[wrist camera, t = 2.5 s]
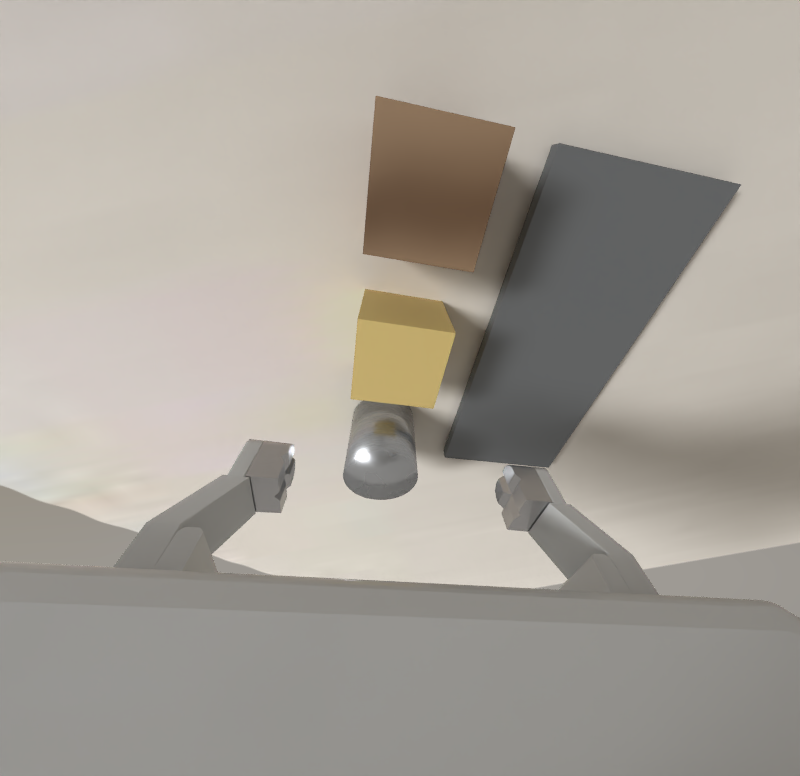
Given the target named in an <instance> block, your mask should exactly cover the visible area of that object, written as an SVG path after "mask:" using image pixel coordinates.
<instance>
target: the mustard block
mask: <svg viewBox="0 0 800 776" xmlns="http://www.w3.org/2000/svg"><path fill="white" fill-rule="evenodd" d="M455 334H456V333H455V330H454V328H453V326H452V323H451V321H450V319H449V316H448V314H447V312H446V309H445V307H444V305H443V302H442V301H436V300H430V299H423V298H417V297H411V296H405V295H399V294H392V293H386V292H380V291H374V290H368V289H365V292H364V296H363V300H362V304H361V308H360V312H359V316H358V322H357V333H356V345H355V356H354V367H353V379H352V390H351V399H355V400H363V401H372V402H381V403H389V404H398V405H406V406H415V407H423V408H432V409H433V408H434V405H435V402H436V398H437V395H438V392H439V388H440V385H441V382H442V378H443V375H444V371H445V368H446V365H447V361H448V358H449V355H450V351H451V348H452V344H453V341H454V338H455Z"/></svg>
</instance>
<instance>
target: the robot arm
mask: <svg viewBox="0 0 800 776" xmlns="http://www.w3.org/2000/svg"><path fill="white" fill-rule="evenodd" d="M293 454H294V445H293V444H288V443H280V442H272V441H262V440H254V439H250V440H249V441H247V442H246V444H245V446H244V447H243V449H242V451H241V453H240V454H239V456H238V458H237V459H236V461H235V463H234V464H233V466H232V468H231V470H230V471H229V473H228V475H222V476H220V477H218V478H217V479H215V480H214V481H212V482H210V483H209V484H207V485H206V486H204V487H202V488H201V489H199V490H198V491H196V492H194V493H193V494H191V495H190V496H188V497H186V498H185V499H183V500H182V501H180V502H179V503H177V504H175V505H174V506H172V507H171V508H169V509H167V510H166V511H164V512H163V513H161V514H159V515H158V516H156V517H155V518H153V519H151V520H150V521H148V522H147V523H146V524H145V525H144V527H143V528H142V529H141V531H140V532H139V533H138V535H137V536H136V537H135V539H134V540H133V541H132V543H131V544H130V545H129V547H128V548H127V549H126V551H125V552H124V553H123V555H122V556H121V557H120V559H119V560H118V561H117V563H116V564H115V565H114V567H100V566H80V565H79V566H78V565H61V564H42V563H23V562H22V563H21V562H2V561H0V776H800V618H799V617H797V616H795V615H794V614H792V613H791V612H789V611H787V610H786V609H784V608H783V607H781V606H779V605H777V604H775V603H772V602H768V601H763V600H749V599H729V598H710V597H709V598H708V597H690V596H670V595H659V594H658V592H657V591H656V589H655V588H654V586H653V585H652V583H651V582H650V580H649V579H648V577H647V576H646V574H645V573H644V571H643V570H642V568H641V567H640V565H639V564H638V562H637V561H636V559H635V558H634V556H633V555H632V554H631V553H629V552H628V551H627V550H626V549H625V548H623V547H622V546H621V545H620V544H618V543H617V542H616V541H615V540H613V539H612V538H611V537H610V536H609V535H607V534H606V533H605V532H604V531H602V530H601V529H600V528H599V527H597V526H596V525H595V524H594V523H593V522H591V521H590V520H589V519H588V518H586V517H585V516H584V515H583V514H581V513H580V512H579V511H578V510H577V509H575V508H574V507H573V506H572V505H570V504H566V502H565V500H564V499H563V497H562V495H561V493H560V491H559V490H558V488H557V486H556V484H555V483H554V481H553V479H552V477H551V476H550V474H549V472H548V471H547V470H546V469H545V468H537V467H526V466H515V465H507V466H506V467H505V468H504V470H503V474H504V476H502V477H501V478H499V479H498V481H497V483H496V489H495V493H496V498H497V501H498V503H499V504H500V505H501V506H502V507H503V511H502V516H503V519H504V522H505V525H506V528H507V529H508V530H517V531H527V532H528V533H529V534H530V536H531V537H532V538H533V539H534V540H535V541H536V543H537V544H538V545H539V546H540V547H541V548H542V550H543V551H544V552H545V553H546V554H547V555H548V557H549V558H550V559H551V560H552V561H553V562H554V564H555V565H556V566H557V567H558V568H559V570H560V571H561V572H562V573H563V574H564V575H565V577H566V578H567V579H568V580H567V581H566V582H565V583H564V584H563V585H562V586H561V587H560V588H559V590H551V589H531V588H512V587H493V586H473V585H454V584H434V583H415V582H395V581H375V580H355V579H335V578H315V577H296V576H276V575H255V574H235V573H218V571H217V569H216V566H215V563H214V560H213V558H212V555H211V554H212V553H213V552H215V551H216V550H217V549H218V548H219V547H220V546H221V545H222V544H223V543H224V542H225V541H226V540H227V539H228V538H230V537H231V536H232V535H233V534H234V533H235V532H236V531H237V530H238V529H239V528H240V527H241V526H242V525H243V524H245V523H246V522H247V521H248V520H249V519H250V518H251V517H252V516H253V515H254V514H255V512H273V513H281V512H282V509H283V506H284V503H285V500H286V497H287V490H286V489H287V488H288V487H289V486H291V483H292V480H293V476H294V471H295V460H294V458H293Z"/></svg>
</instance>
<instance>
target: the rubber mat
mask: <svg viewBox="0 0 800 776" xmlns="http://www.w3.org/2000/svg"><path fill="white" fill-rule="evenodd" d="M740 186H741V184H737V183H732V182H728V181H723V180H719V179H715V178H710V177H706V176H701V175H697V174H693V173H688V172H684V171H679V170H675V169H671V168H666V167H662V166H657V165H653V164H649V163H644V162H640V161H635V160H631V159H627V158H622V157H618V156H613V155H609V154H605V153H600V152H596V151H591V150H587V149H583V148H578V147H574V146H569V145H565V144H561V143H559V144H555V145H552V147H551V150H550V152H549V155H548V158H547V161H546V164H545V167H544V169H543V172H542V175H541V178H540V181H539V183H538V186H537V189H536V192H535V195H534V198H533V200H532V203H531V206H530V209H529V212H528V214H527V217H526V220H525V223H524V226H523V229H522V231H521V234H520V237H519V240H518V243H517V245H516V248H515V251H514V254H513V257H512V260H511V262H510V265H509V268H508V271H507V274H506V276H505V279H504V282H503V285H502V288H501V291H500V293H499V296H498V299H497V302H496V305H495V307H494V310H493V313H492V316H491V319H490V322H489V324H488V327H487V330H486V333H485V336H484V338H483V341H482V344H481V347H480V350H479V353H478V355H477V358H476V361H475V364H474V367H473V369H472V372H471V375H470V378H469V381H468V384H467V386H466V389H465V392H464V395H463V398H462V400H461V403H460V406H459V409H458V412H457V415H456V417H455V420H454V423H453V426H452V429H451V431H450V434H449V437H448V440H447V443H446V446H445V448H444V455H445V457H446V458H457V459H467V460H477V461H487V462H498V463H508V464H518V465H528V466H539V467H549V466H550V465H551V463H552V462H553V460H554V459H555V458H556V456H557V455H558V453H559V452H560V450H561V449H562V447H563V446H564V444H565V443H566V441H567V440H568V438H569V437H570V435H571V434H572V433H573V431H574V430H575V428H576V427H577V425H578V424H579V422H580V421H581V419H582V418H583V416H584V415H585V413H586V412H587V410H588V409H589V408H590V406H591V405H592V403H593V402H594V400H595V399H596V397H597V396H598V394H599V393H600V391H601V390H602V388H603V387H604V386H605V384H606V383H607V381H608V380H609V378H610V377H611V375H612V374H613V372H614V371H615V369H616V368H617V366H618V365H619V363H620V362H621V361H622V359H623V358H624V356H625V355H626V353H627V352H628V350H629V349H630V347H631V346H632V344H633V343H634V341H635V340H636V338H637V337H638V336H639V334H640V333H641V331H642V330H643V328H644V327H645V325H646V324H647V322H648V321H649V319H650V318H651V316H652V315H653V313H654V312H655V311H656V309H657V308H658V306H659V305H660V303H661V302H662V300H663V299H664V297H665V296H666V294H667V293H668V291H669V290H670V288H671V287H672V286H673V284H674V283H675V281H676V280H677V278H678V277H679V275H680V274H681V272H682V271H683V269H684V268H685V266H686V265H687V263H688V262H689V261H690V259H691V258H692V256H693V255H694V253H695V252H696V250H697V249H698V247H699V246H700V244H701V243H702V241H703V240H704V239H705V237H706V236H707V234H708V233H709V231H710V230H711V228H712V227H713V225H714V224H715V222H716V221H717V219H718V218H719V216H720V215H721V214H722V212H723V211H724V209H725V208H726V206H727V205H728V203H729V202H730V200H731V199H732V197H733V196H734V194H735V193H736V191H737V190H738V189H739V187H740Z"/></svg>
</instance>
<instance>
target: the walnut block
mask: <svg viewBox="0 0 800 776" xmlns="http://www.w3.org/2000/svg"><path fill="white" fill-rule="evenodd" d="M514 130H515V127H511V126H507V125H503V124H498V123H494V122H489V121H485V120H481V119H476V118H472V117H467V116H463V115H458V114H454V113H450V112H445V111H441V110H436V109H432V108H428V107H423V106H419V105H414V104H410V103H406V102H401V101H397V100H392V99H388V98H383V97H379V96H376V99H375V111H374V123H373V136H372V148H371V160H370V172H369V185H368V197H367V209H366V222H365V234H364V246H363V254H367V255H373V256H379V257H385V258H391V259H397V260H403V261H409V262H415V263H421V264H427V265H433V266H439V267H445V268H451V269H456V270H462V271H468V272H474V269H475V265H476V262H477V258H478V255H479V251H480V248H481V244H482V241H483V237H484V234H485V231H486V227H487V224H488V220H489V217H490V213H491V210H492V206H493V203H494V200H495V196H496V193H497V189H498V186H499V182H500V179H501V175H502V172H503V168H504V165H505V162H506V158H507V155H508V151H509V148H510V144H511V141H512V137H513V134H514Z"/></svg>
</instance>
